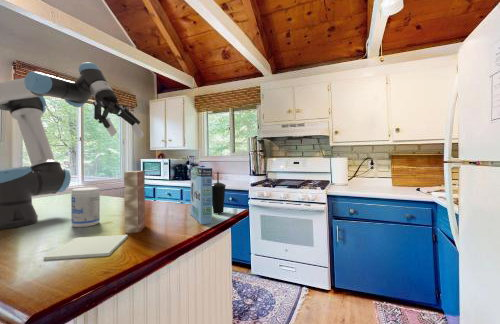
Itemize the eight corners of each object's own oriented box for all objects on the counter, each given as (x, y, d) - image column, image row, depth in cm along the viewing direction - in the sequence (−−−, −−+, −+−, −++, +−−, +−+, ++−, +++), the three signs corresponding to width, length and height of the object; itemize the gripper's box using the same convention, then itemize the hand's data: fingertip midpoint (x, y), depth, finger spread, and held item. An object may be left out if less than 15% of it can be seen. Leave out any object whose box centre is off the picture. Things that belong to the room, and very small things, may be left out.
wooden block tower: (124, 232, 87) (123, 172, 87) (131, 226, 95) (130, 170, 95) (139, 232, 88) (138, 171, 88) (145, 226, 96) (144, 170, 96)
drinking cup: (207, 214, 116) (206, 172, 115) (215, 210, 123) (215, 171, 122) (221, 215, 113) (221, 172, 112) (228, 211, 120) (228, 171, 120)
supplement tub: (65, 227, 94) (64, 190, 94) (83, 221, 104) (82, 187, 103) (89, 227, 94) (88, 190, 94) (105, 221, 103) (104, 187, 103)
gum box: (190, 214, 114) (189, 166, 114) (201, 213, 117) (200, 166, 116) (200, 225, 97) (200, 168, 96) (213, 223, 99) (212, 167, 99)
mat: (43, 260, 64) (43, 257, 64) (76, 239, 80) (76, 237, 80) (108, 255, 67) (108, 252, 67) (127, 236, 83) (127, 234, 83)
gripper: (79, 79, 87) (106, 126, 83) (133, 96, 110) (156, 132, 107) (67, 93, 89) (93, 139, 85) (123, 106, 113) (145, 143, 109)
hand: (128, 135), depth 96 cm, fingers open, 13 cm apart
